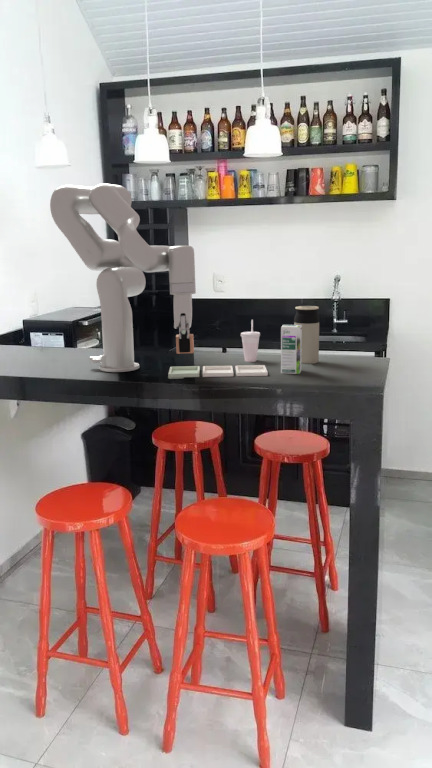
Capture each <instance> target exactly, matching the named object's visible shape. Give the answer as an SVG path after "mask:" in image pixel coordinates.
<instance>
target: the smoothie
mask: <svg viewBox="0 0 432 768" xmlns="http://www.w3.org/2000/svg"><path fill="white" fill-rule="evenodd" d="M250 324H251V329H250V331H243V332H240V337H241V342H242V351H243V356H244V358H243V359H244V362H247V363H254V362H257V359H258V350H259V344H260V343H259V341H260V337H261V332H259V331H254V319H251V321H250Z"/></svg>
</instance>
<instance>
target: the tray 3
mask: <svg viewBox="0 0 432 768" xmlns="http://www.w3.org/2000/svg"><path fill="white" fill-rule="evenodd" d="M234 369H235V374H236V377H268V375H269V373H268V370H267V367H266V365H265V364H258V365H257V364H255V365H254V364H250V365H249V364H248V365H235V368H234Z"/></svg>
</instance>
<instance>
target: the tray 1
mask: <svg viewBox="0 0 432 768" xmlns="http://www.w3.org/2000/svg"><path fill="white" fill-rule="evenodd" d="M200 368H201V366H200V365H191V366H190V365H189V366H188V365H187V366H170V367H169V370H168V374H167V375H168V376H167V379H169V380H174V379H175V380H179V379H180V380H183V379H184V378H200V372H201V371H200V370H201V369H200Z"/></svg>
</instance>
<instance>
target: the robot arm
mask: <svg viewBox="0 0 432 768" xmlns="http://www.w3.org/2000/svg"><path fill="white" fill-rule="evenodd" d="M49 202H50V203H49V210H50V213H51V217H52V219H53V221H54V224H55V225H56V227H58V229H59V230H60V232H61V233H62V234H63V235H64V237H65V238H66V239H67V240H68V242H69V244H70V245H71V247H72V248H73V249H74V251H75V252H76V254H77V256H79V258H80V259H81V260H82V261H81V262H83V264H84V265H85V266H86V267H87V268H88V269H90V270H91V271H100V273H99V274H98V276H97V278H96V284H95V285H96V289H97V290H96V291H97V295H98V299H99V305H100V317H101V318H100V319H101V332H102V333H101V335H102V350H103V351H102V352H103V354H102V355H99V356H89V363H93V364H100V365H98V369H99V371H101V372H107V373H124V372H127V373H128V372H131V371H136V370H139V369H140V364H139V362H135V350H134V328H133V327H134V324H133V310H132V307H131V304H130V300H129V298H130V297H134V296H138V295H140V294H142V293H143V291H144V290H145V288H146V276H145V274H144V272H145V273H156V272H157V273H159V272H167V271H168V280H169V295H173V321H174V322H173V328H174V329H178V333H179V338H180V339H179V352H190V338H189V334H191V333H190V331H191V330H190V328H191V327H192V323H193V322H192V320H193V298H192V295H194V294H197V291H196V268H195V267H196V264H195V263H196V262H195V260H196V259H195V250H194V247H193V246H191V245H173V246H170V245H149V244H148V242H146V240H145V239H144V238H143V237H142V236H141V235H140V234H139V232H138V230H137V228H138V226H139V225H140V221H141V219H140V215H139V214H138V212H137V211H135V209H133V208H132V202H133V201H132V195H131V192H129V190H128V189H127V188H126V187H124V186H123V185H119V184H111V183H99V184H97V185H95V186H86V185H85V186H84V185H74V184H65V185H61V186H58V187H57V188H55V189H54V191H52V194H51V197H50V201H49ZM81 215H100V216H101V218H102V219H103V220H104V221H105V222H106V224H108V226H110V228H111V229H112V230H113V231H114V233H116V235H117V238H118V240H115V239H105V238H104V239H103V238H101V236H100V235H99V234H98V233H97V232H96V230H95V229H94V227H93V226H92V225H91V224H90V222H88V221H87V220H86V219H85V218H84V217H82V216H81Z"/></svg>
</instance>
